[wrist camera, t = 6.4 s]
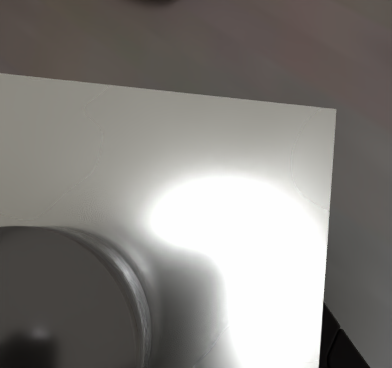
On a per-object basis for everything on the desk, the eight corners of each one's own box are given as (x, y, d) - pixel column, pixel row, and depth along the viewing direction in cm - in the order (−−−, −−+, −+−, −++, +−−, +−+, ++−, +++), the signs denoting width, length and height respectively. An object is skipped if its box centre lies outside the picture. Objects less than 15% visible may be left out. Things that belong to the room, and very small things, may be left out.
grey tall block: (220, 303, 15) (325, 904, 2) (124, 289, 15) (-443, 706, 2) (232, 205, 16) (367, 80, 2) (139, 193, 16) (-205, 21, 3)
